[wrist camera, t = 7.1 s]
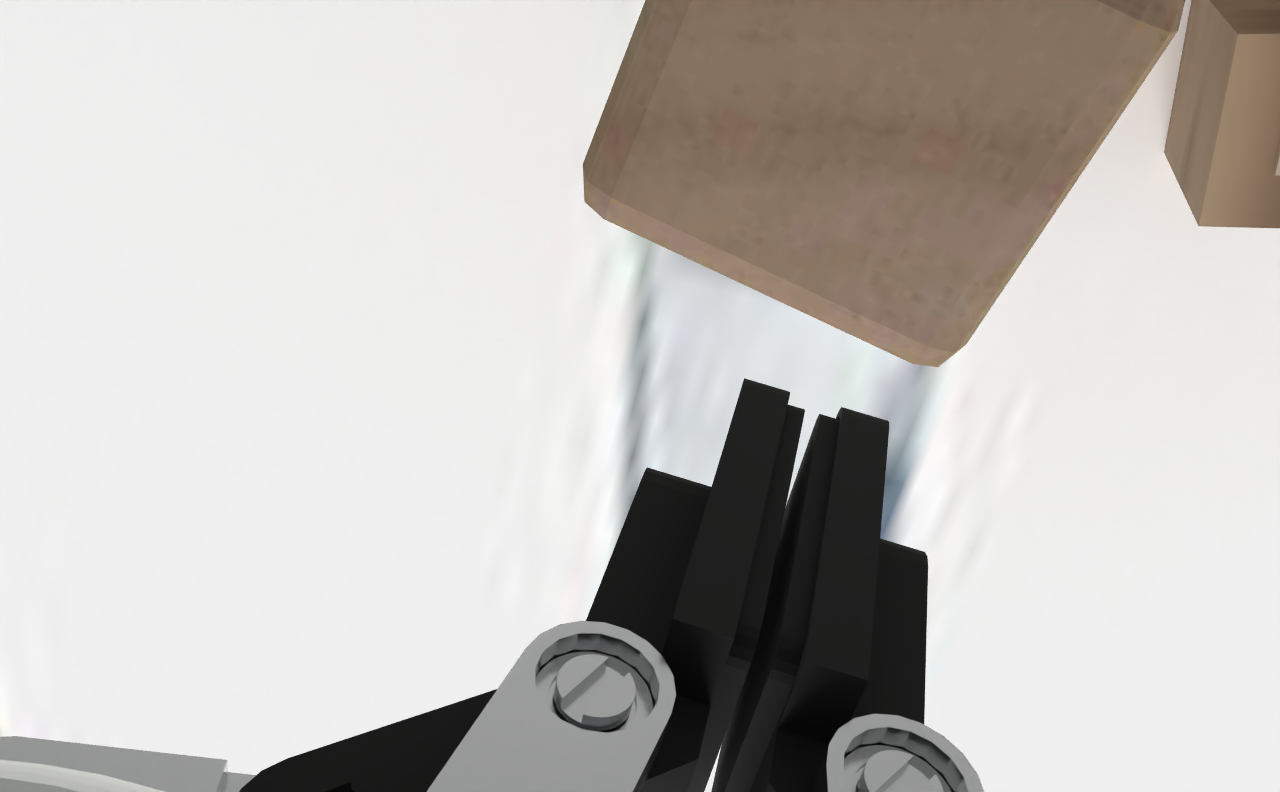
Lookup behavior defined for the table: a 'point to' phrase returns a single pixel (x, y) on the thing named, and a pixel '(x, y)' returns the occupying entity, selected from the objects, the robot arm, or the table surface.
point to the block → (866, 145)
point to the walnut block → (1229, 114)
